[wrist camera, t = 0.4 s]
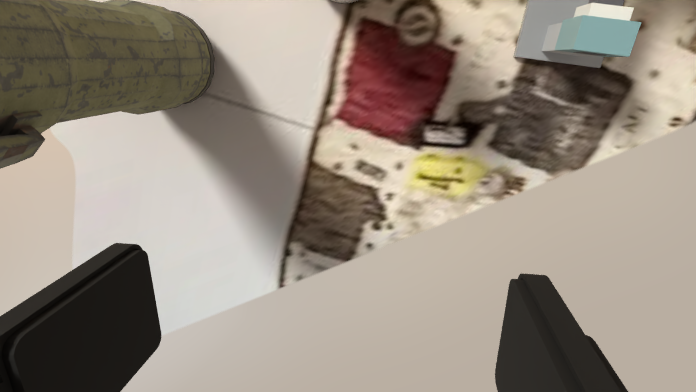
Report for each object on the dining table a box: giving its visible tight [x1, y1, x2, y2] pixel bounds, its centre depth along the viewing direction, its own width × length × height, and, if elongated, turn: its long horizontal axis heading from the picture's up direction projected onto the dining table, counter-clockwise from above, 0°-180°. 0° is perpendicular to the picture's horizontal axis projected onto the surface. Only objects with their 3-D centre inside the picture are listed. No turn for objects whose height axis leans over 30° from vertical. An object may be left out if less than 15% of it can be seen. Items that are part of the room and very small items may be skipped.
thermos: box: [0, 0, 214, 168], centre depth 23 cm, size 9×12×35 cm
